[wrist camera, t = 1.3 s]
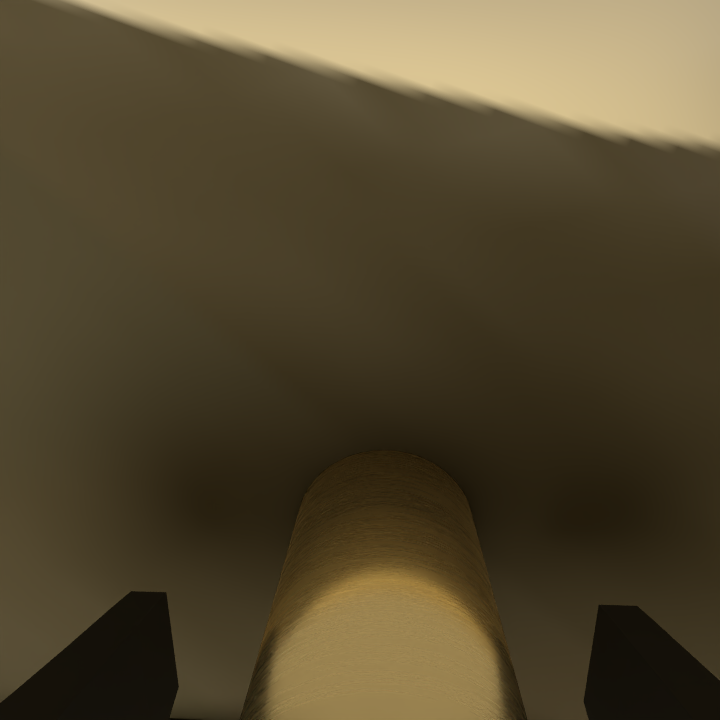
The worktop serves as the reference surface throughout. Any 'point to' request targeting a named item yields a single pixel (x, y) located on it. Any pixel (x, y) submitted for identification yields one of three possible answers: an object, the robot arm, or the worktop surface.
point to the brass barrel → (384, 604)
